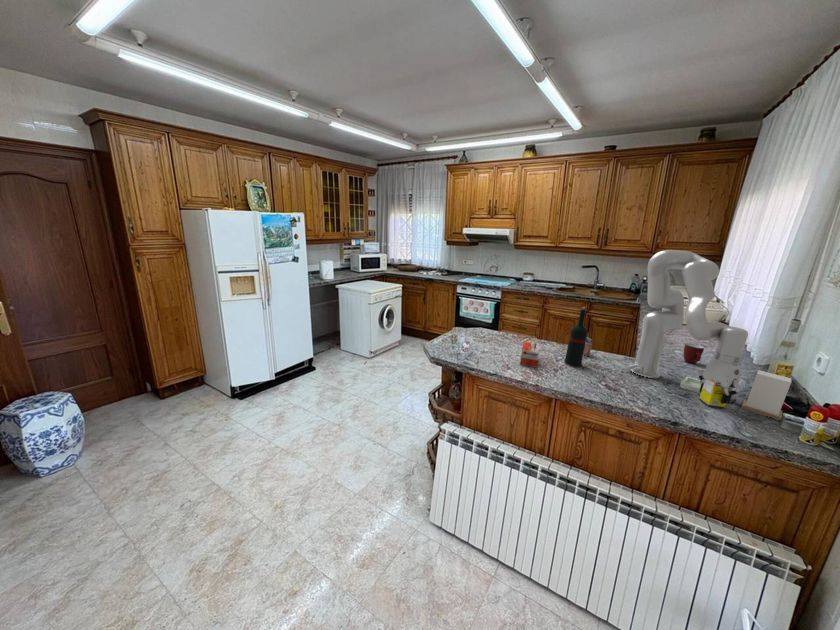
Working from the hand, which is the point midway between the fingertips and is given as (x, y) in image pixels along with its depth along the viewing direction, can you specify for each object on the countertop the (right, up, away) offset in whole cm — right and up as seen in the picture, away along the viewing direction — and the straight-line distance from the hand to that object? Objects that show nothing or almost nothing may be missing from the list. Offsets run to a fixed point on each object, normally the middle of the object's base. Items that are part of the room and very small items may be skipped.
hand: (713, 397), depth 132 cm
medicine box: (-64, +10, +35) cm, 74 cm away
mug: (+29, +7, +45) cm, 54 cm away
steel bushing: (+10, -3, +4) cm, 11 cm away
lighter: (-28, +11, +49) cm, 58 cm away
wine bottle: (-41, +9, +36) cm, 55 cm away
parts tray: (+6, 0, +14) cm, 16 cm away
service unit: (+17, -5, -3) cm, 17 cm away
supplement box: (0, -3, +1) cm, 3 cm away
